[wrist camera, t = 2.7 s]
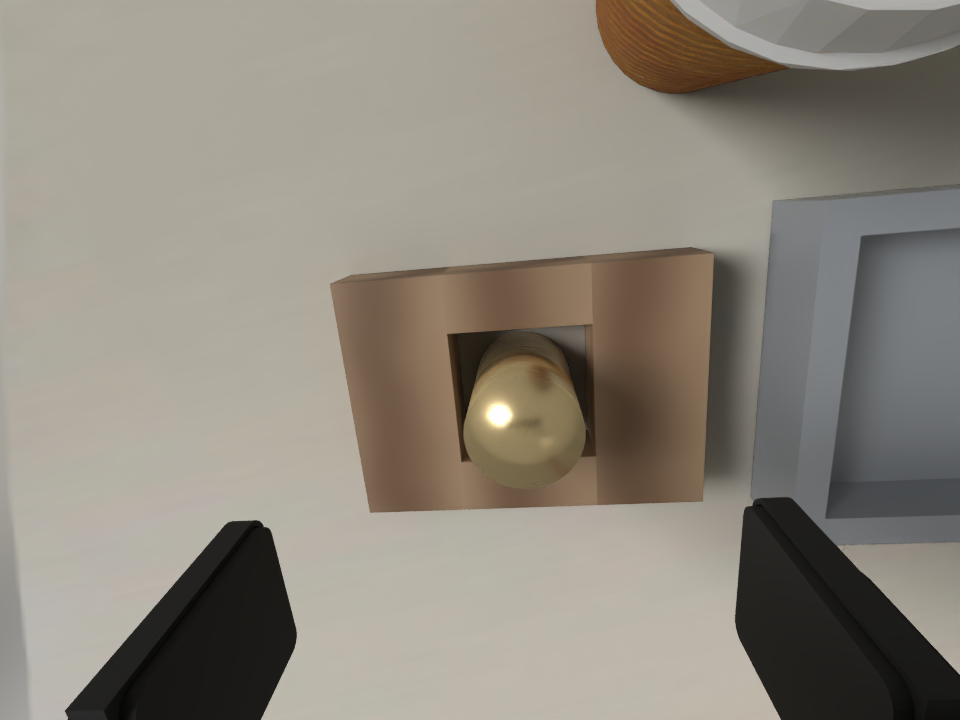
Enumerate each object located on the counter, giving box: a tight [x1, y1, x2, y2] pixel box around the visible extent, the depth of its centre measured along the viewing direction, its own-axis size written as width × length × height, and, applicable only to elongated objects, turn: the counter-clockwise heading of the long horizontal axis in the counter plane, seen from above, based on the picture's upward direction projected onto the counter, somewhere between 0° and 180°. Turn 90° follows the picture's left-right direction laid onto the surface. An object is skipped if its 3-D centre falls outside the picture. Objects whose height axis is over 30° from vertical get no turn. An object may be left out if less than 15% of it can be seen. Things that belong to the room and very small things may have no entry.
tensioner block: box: [330, 247, 714, 513], centre depth 21 cm, size 14×10×2 cm
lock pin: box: [463, 332, 586, 489], centre depth 19 cm, size 4×4×6 cm
